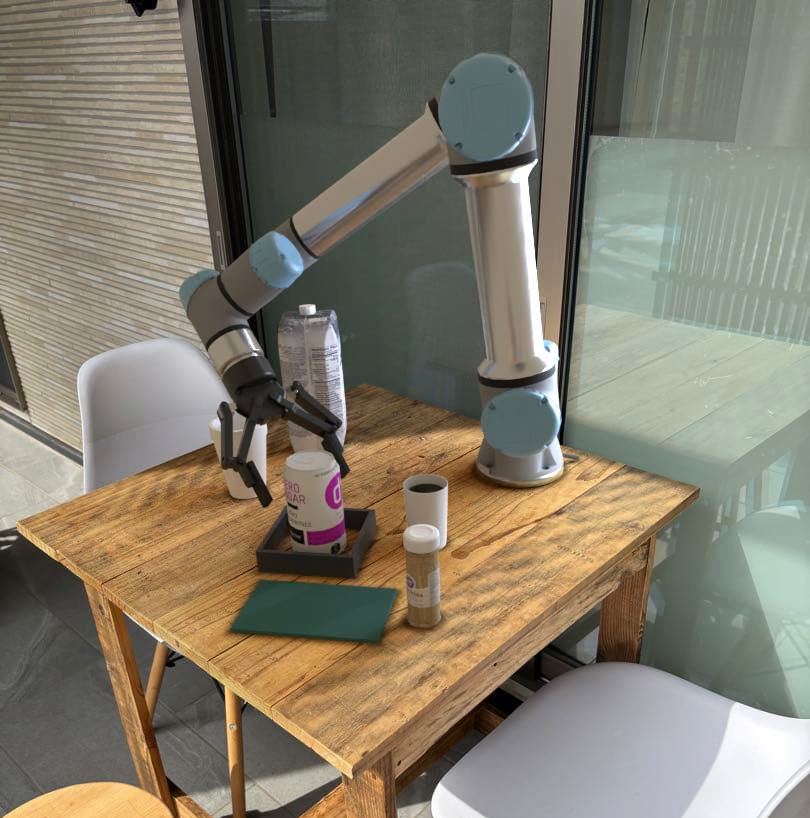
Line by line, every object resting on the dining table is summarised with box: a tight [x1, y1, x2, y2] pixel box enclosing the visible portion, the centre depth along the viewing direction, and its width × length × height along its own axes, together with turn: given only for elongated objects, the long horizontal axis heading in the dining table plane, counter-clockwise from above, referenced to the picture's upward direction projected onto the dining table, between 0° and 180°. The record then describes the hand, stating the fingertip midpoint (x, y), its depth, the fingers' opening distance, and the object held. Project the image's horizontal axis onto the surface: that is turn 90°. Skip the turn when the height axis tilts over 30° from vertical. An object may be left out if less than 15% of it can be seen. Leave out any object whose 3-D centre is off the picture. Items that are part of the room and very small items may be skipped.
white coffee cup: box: [402, 473, 449, 550], centre depth 127 cm, size 7×7×10 cm
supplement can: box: [282, 450, 347, 554], centre depth 125 cm, size 8×8×15 cm
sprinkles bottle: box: [402, 524, 442, 629], centre depth 109 cm, size 5×5×13 cm
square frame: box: [254, 504, 378, 579], centre depth 128 cm, size 15×15×4 cm
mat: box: [229, 579, 398, 645], centre depth 115 cm, size 20×12×1 cm, turn 79°
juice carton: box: [276, 303, 348, 454], centre depth 155 cm, size 9×10×27 cm
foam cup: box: [208, 411, 268, 500], centre depth 144 cm, size 10×9×13 cm
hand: (308, 489), depth 125 cm, fingers open, 13 cm apart
